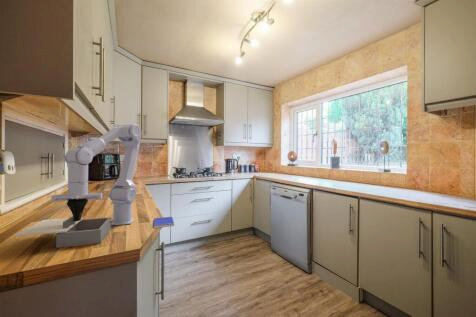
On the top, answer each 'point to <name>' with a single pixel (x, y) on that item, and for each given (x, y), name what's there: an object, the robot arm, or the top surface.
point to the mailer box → (84, 233)
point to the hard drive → (163, 222)
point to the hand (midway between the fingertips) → (77, 220)
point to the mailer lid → (49, 226)
